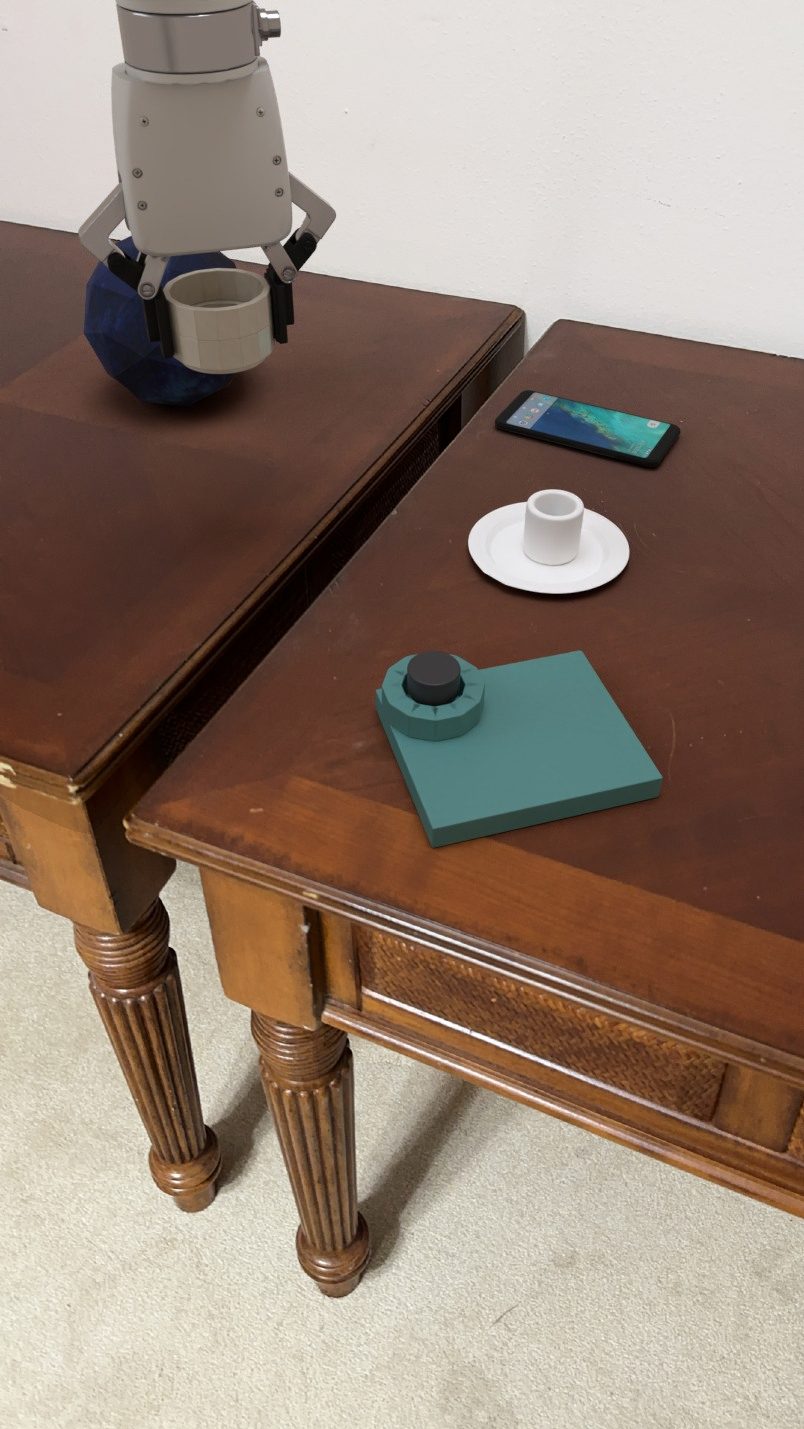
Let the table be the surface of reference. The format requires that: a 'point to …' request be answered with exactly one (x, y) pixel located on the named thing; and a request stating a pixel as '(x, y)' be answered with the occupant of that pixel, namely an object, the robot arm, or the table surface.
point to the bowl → (220, 319)
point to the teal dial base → (514, 748)
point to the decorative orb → (144, 334)
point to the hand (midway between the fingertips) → (222, 340)
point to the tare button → (433, 678)
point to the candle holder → (549, 545)
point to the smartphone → (589, 427)
